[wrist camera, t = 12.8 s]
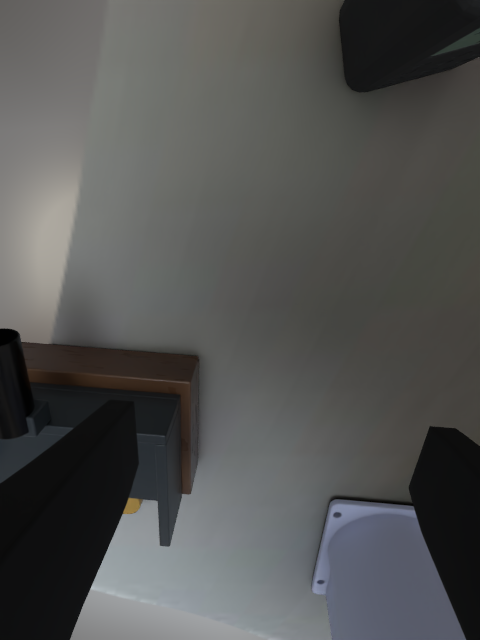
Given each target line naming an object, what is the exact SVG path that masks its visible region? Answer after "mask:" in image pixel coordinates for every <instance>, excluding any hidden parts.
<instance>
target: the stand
mask: <svg viewBox="0 0 480 640" xmlns="http://www.w3.org/2000/svg"><path fill="white" fill-rule="evenodd" d="M21 343H22V348H23V352H24V357H25V362H26V366H27V371H28V376H29V381H30V382H35V383H47V384H59V385H71V386H83V387H94V388H106V389H118V390H130V391H142V392H154V393H166V394H178V395H180V404H181V483H182V494H191V491H192V486H193V482H194V477H195V473H196V468H197V463H198V410H199V357H198V356H189V355H177V354H164V353H152V352H139V351H127V350H114V349H102V348H89V347H77V346H64V345H52V344H39V343H27V342H21Z"/></svg>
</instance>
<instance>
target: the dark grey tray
mask: <svg viewBox="0 0 480 640" xmlns="http://www.w3.org/2000/svg"><path fill="white" fill-rule="evenodd" d="M110 399H112V400H124V401H134V406H135V418H136V431H137V444H138V456H139V465H138V469H137V472H136V476H135V479H134V482H133V486H132V489H131V492H130V495H129V498H134V499H145V500H156V501H158V515H159V535H160V546H168V547H169V546H170V543H171V539H172V535H173V531H174V527H175V523H176V518H177V514H178V510H179V506H180V502H181V498H182V483H181V404H180V395H178V394H166V393H154V392H142V391H130V390H118V389H106V388H94V387H83V386H71V385H59V384H47V383H35V382H30V381H29V376H28V371H27V366H26V362H25V357H24V352H23V348H22V343H21V339H20V334H19V333H18V332H17V331H15V330H12V329H0V483H2V482H3V481H5V480H6V479H7V478H9V477H10V476H11V475H13V474H14V473H16V472H17V471H18V470H20V469H21V468H23V467H24V466H25V465H27V464H28V463H30V462H31V461H32V460H34V459H35V458H36V457H38V456H39V455H40V454H42V453H43V452H44V451H45V450H47V449H48V448H49V447H51V446H52V445H53V444H54V443H56V442H57V441H58V440H60V439H61V438H62V437H63V436H65V435H66V434H67V433H68V432H70V431H71V430H72V429H73V428H75V427H76V426H77V425H78V424H80V423H81V422H82V421H83V420H85V419H86V418H87V417H88V416H89V415H91V414H92V413H93V412H94V411H96V410H97V409H98V408H99V407H101V406H102V405H103V404H105V403H106V402H107V401H108V400H110Z"/></svg>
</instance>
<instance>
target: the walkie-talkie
mask: <svg viewBox="0 0 480 640" xmlns="http://www.w3.org/2000/svg"><path fill="white" fill-rule="evenodd" d="M339 23H340V33H341V43H342V53H343V63H344V73H345V78H346V82H347V84H348V85H349V86H350V88H351V89H352V90H355V91H358V92H368V91H372V90H376V89H379V88H383V87H387V86H391V85H394V84H398V83H402V82H405V81H409V80H413V79H417V78H420V77H424V76H428V75H431V74H435V73H439V72H443V71H446V70H450V69H453V68H455V67H457V66H459V65H462V64H464V63H466V62H468V61H471V60H473V59H475V58H478V57H480V0H345V1H344V3H343V5H342V7H341V10H340V17H339Z"/></svg>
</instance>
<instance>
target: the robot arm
mask: <svg viewBox="0 0 480 640" xmlns="http://www.w3.org/2000/svg"><path fill="white" fill-rule="evenodd" d="M138 465H139V456H138V444H137V431H136V418H135V406H134V401H124V400H112V399H110V400H108V401H107V402H106V403H105V404H103V405H102V406H101V407H99V408H98V409H97V410H96V411H94V412H93V413H92V414H91V415H89V416H88V417H87V418H86V419H85V420H83V421H82V422H81V423H80V424H78V425H77V426H76V427H75V428H73V429H72V430H71V431H70V432H68V433H67V434H66V435H65V436H63V437H62V438H61V439H60V440H58V441H57V442H56V443H54V444H53V445H52V446H51V447H49V448H48V449H47V450H45V451H44V452H43V453H42V454H40V455H39V456H38V457H36V458H35V459H34V460H32V461H31V462H30V463H28V464H27V465H25V466H24V467H23V468H21V469H20V470H18V471H17V472H16V473H14V474H13V475H11V476H10V477H9V478H7V479H6V480H5V481H3V482H2V483H0V640H70V638H71V635H72V632H73V630H74V627H75V624H76V622H77V619H78V617H79V614H80V612H81V609H82V606H83V604H84V602H85V599H86V597H87V595H88V593H89V590H90V588H91V586H92V584H93V581H94V579H95V577H96V574H97V572H98V570H99V567H100V565H101V563H102V560H103V558H104V556H105V554H106V551H107V549H108V547H109V544H110V542H111V540H112V537H113V535H114V533H115V530H116V528H117V526H118V523H119V521H120V519H121V516H122V514H123V512H124V509H125V507H126V504H127V502H128V498H129V495H130V492H131V489H132V486H133V482H134V479H135V476H136V472H137V469H138ZM409 491H410V495H411V498H412V502H413V506H408V505H397V504H386V503H375V502H364V501H353V500H342V499H335V500H333V501H331V503H330V505H329V509H328V514H327V518H326V522H325V527H324V531H323V536H322V540H321V544H320V549H319V553H318V558H317V562H316V566H315V571H314V575H313V580H312V584H311V586H312V591H313V593H315V594H320V595H326V600H327V607H328V615H329V622H330V629H331V636H332V640H480V446H478V445H477V444H476V443H475V442H473V441H472V440H471V439H469V438H468V437H467V436H465V435H464V434H463V433H461V432H460V431H459V430H457V429H456V428H444V427H432V426H430V427H429V430H428V433H427V436H426V439H425V442H424V445H423V447H422V450H421V453H420V456H419V459H418V462H417V465H416V468H415V471H414V473H413V476H412V479H411V482H410V485H409Z"/></svg>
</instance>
